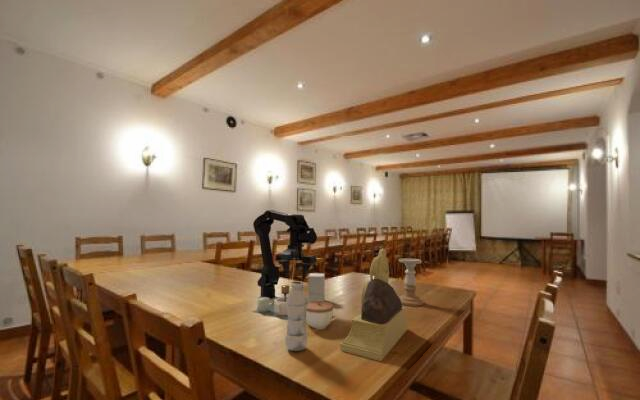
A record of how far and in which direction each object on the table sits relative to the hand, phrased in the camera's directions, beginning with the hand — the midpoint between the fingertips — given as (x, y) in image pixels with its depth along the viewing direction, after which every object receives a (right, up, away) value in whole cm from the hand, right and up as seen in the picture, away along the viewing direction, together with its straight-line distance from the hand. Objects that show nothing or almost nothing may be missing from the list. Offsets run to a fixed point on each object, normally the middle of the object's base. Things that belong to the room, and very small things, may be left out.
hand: (295, 277), depth 136 cm
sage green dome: (-13, -12, -9) cm, 19 cm away
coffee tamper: (-4, -10, -10) cm, 15 cm away
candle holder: (+54, -14, +8) cm, 56 cm away
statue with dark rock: (+30, -12, -35) cm, 47 cm away
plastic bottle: (+4, -11, -43) cm, 45 cm away
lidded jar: (+10, -12, -24) cm, 29 cm away
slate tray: (-4, -12, -9) cm, 16 cm away
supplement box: (+9, -14, +8) cm, 18 cm away
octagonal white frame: (-3, -12, -10) cm, 16 cm away
